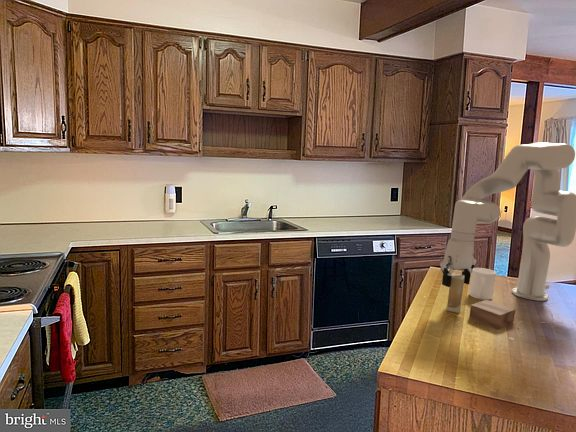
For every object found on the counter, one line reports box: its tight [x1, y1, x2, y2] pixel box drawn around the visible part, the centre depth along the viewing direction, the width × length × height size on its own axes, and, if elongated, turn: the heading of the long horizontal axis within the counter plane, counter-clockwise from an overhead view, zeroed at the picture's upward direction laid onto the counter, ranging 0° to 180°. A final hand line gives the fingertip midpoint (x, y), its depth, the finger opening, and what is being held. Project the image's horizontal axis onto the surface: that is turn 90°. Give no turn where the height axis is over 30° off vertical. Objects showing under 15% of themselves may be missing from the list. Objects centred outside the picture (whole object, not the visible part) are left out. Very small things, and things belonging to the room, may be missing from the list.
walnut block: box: [468, 300, 516, 330], centre depth 147 cm, size 10×10×5 cm
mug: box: [469, 267, 497, 301], centre depth 168 cm, size 12×8×10 cm
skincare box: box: [446, 272, 465, 314], centre depth 154 cm, size 6×4×12 cm
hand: (455, 284), depth 153 cm, fingers open, 9 cm apart
